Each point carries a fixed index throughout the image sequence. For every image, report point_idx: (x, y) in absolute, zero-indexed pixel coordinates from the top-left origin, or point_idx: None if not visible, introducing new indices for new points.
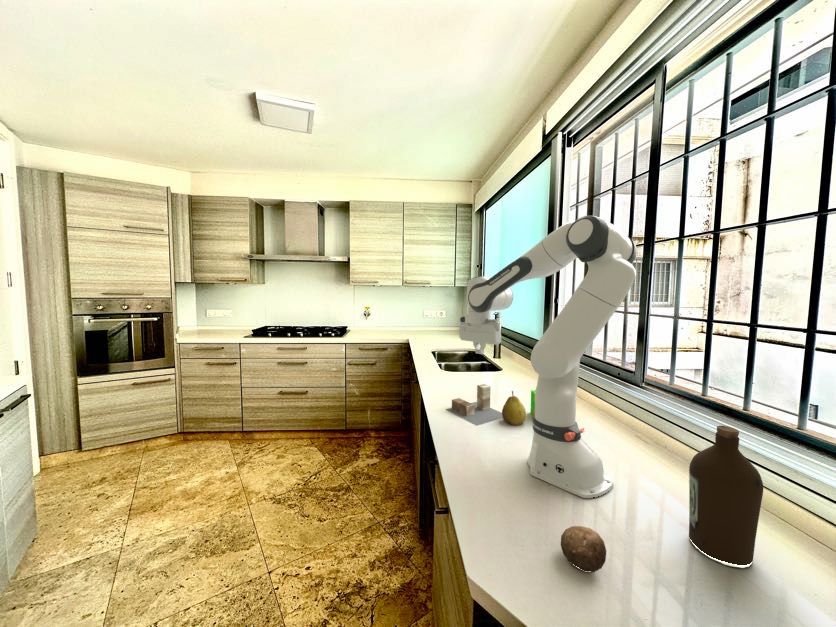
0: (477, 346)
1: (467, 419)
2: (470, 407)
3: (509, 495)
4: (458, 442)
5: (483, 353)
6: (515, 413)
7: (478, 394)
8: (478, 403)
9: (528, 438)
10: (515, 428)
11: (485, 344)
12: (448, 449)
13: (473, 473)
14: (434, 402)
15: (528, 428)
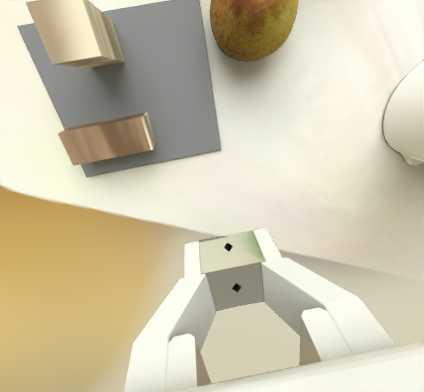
0: (196, 323)
1: (178, 151)
2: (149, 133)
3: (407, 216)
4: (265, 216)
5: (266, 231)
6: (286, 38)
7: (80, 64)
8: (94, 66)
9: (333, 62)
10: None
11: (366, 320)
12: (277, 239)
13: (349, 233)
14: (8, 178)
15: None
